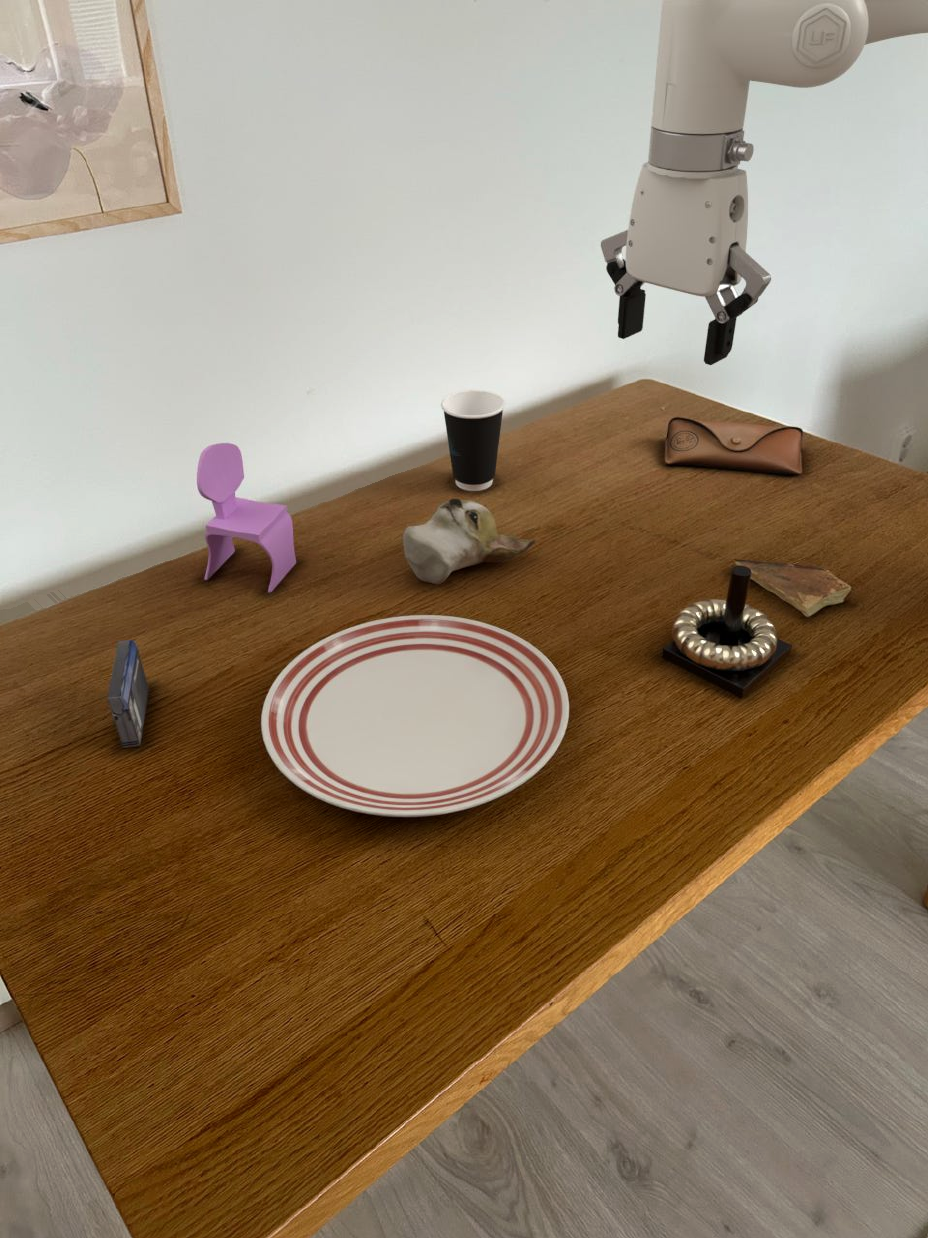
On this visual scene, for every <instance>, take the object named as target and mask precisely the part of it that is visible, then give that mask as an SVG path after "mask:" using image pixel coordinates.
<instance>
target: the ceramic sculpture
mask: <svg viewBox="0 0 928 1238" xmlns="http://www.w3.org/2000/svg"><path fill="white" fill-rule="evenodd" d="M402 540H403V553H404V557H405V559H406V561H407V563H408V565H409V567H410V569H411V570H412V572H413V573H414V575H415V576H416V577H417V578H418V580H420V581H422V582H425V583H430V584H433V585H441V584H443V583H444V582H445V580H447V578H448V577H450V574H451V573H452V572H454V571H458V570H461V569H463V568H468V567H471V566H474V565H478V564H480V563H481V564H482V563H484V562H485V563H505V562H511V561H512V560H515V559H516V558H517V557H519V556H521V555H522V554H524V553H525V552H526V551H527V550H528V549H530V547H532V545H534V543H535V542H536V539H534V538H530V539H529V538H526V539H525V538H520V537H518V536H515V535H514V534H513V535H512V534H499V533H498V530H497V524H496V518H495V517H494V515H493V513H492V512H491V511H490V510H489V509H488V508H487V507H485V506H484V505H482V504H480V503H479V502H477V501H474V500H471V499H461V500H460V499H459V498H451V499H450V500H449V501H446V502H444V503H442V504H440V505H439V506H438V507H437V508H436V511H435V512H434V514H433V515H432V516H431V518H430V519H429V520H428V521H427V522H426V523H423V524H419V525H410V526H407V527H406V528H405V530H404V532H403V535H402Z"/></svg>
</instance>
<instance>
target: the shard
mask: <svg viewBox="0 0 928 1238" xmlns="http://www.w3.org/2000/svg"><path fill="white" fill-rule="evenodd" d="M733 562H734V564H735V566H737V565H742V566H746V567H748V568H750V569H751V578H750V580H752V581H754V582H755V583H756V584H758V585H759V586H761V587H762V588H764V589H765V590H767V591H768V592H771V593H772V594H775V595H776V596H777V597H779V599H781V600H782V601H784V602H786V603H788V604H790V605H791V606H792V607H794V608H795V609H796V610H798V611H799V612H801V613H802V615H803V616H804V617H806V618H809V617H811V616H813V615H814V614H816V613H817V612H819V611H820V610H821V609H823V608H825V607H826V606H833V605H837V604H842V603H844V602H845V598H847V595H848V594H849V593H850V592H851V590H852V586H851V585H849V584H848V583H847V582H844V581H843V580H841V579H839V578H838V577H837V576H836V575H834V574H833V573H832V572H830V570H829V568H825V567H821V566H820V567H819V566H814V565H813V566H812V565H801V564H797V563H787V562H778V561H776V562H775V561H774V562H773V561H761V560H759V561H757V560H756V561H755V560H746V559H738V558H733Z"/></svg>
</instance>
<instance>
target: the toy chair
mask: <svg viewBox="0 0 928 1238" xmlns="http://www.w3.org/2000/svg"><path fill="white" fill-rule="evenodd" d="M244 479H245V472H244V461H243V455H242V451H241V449H240V448H239V446H237V445H236V444H234V443H230V442H218V443H214V444H211V445H208V446H207V447H205V448H204V449H203V450H202V451H201V452H200V455H199V459H198V463H197V470H196V487H197V491H198V494H199V495H200V496H201V497H202V498H204V499H206V500H208V501H210V502H211V504H212V506H213V507H212V508H213V510H214V512H215V516H214V517H212V519H211V520H209V521H208V523H207V524H205V529H206V533H205V534H204V540H205V543H206V545H207V550H208V559H207V566H206V569H205V574H204V578H203V580H204V581H208V580H210V578H211V577H212V576H213V575H214V574H215V573H216V572H217V571H218V570H219V569H220V568H221V567H222V566H223V565H224V564H225V563H226V562H227V560H229V558H231V556H232V555H234V553H235V551H236V550H235V546H234V542H233V541H234V540H233V537H235V538H238V539H243V540H245V541H249V542H252V543H256V544H258V545H259V546H260V547H261V548H262V549H263V550H264V552H265V553H266V554H267V555H268V557H269V559H270V561H271V566H272V567H271V577H270V582H269V585H268V589H267V593H272V592H273V591H274V590H275V588H276V587H277V586H278V585H279V584H280V583H281V582H282V580H283V579H284V578H285V577H286V576H287V574H288V573H289V572H290V571H291V570H292V568H294V566H295V565H296V564H297V559H296V554H295V544H294V543H295V542H294V527H293V526H294V525H293V519H292V516H291V515H290V513H288V507H287V505H286V504H285V505H284V504H279V503H270V502H262V501H258V500H257V501H256V500H252V499H247V498H243V497H236V492H237V490H238V489H239V487H240V486H241V484H242V482H243V481H244Z"/></svg>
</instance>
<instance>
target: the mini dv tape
mask: <svg viewBox="0 0 928 1238" xmlns="http://www.w3.org/2000/svg"><path fill="white" fill-rule="evenodd" d="M147 680H148V679H147V677H146V673H145V669H144V666H143V663H142V660H141V656H140V652H139V648H138V645H137V643H136V642H135V641H134V640H133V639H127V640H118V641H117V646H116V651H115V656H114V662H113V666H112V672H111V678H110V683H109V688H108V693H107V702H108V705H109V708H110V711H111V714H112V718H113V721H114V724H115V727H116V732H117V734H118V738H119V741H120V744H121V746H122V749H127V748H135V747H141V745H142V744H141V743H142V737H143V732H144V731H143V730H144V724H145V717H146V711H147V704H148V697H149V689H150V688H149V683H148V681H147Z"/></svg>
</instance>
